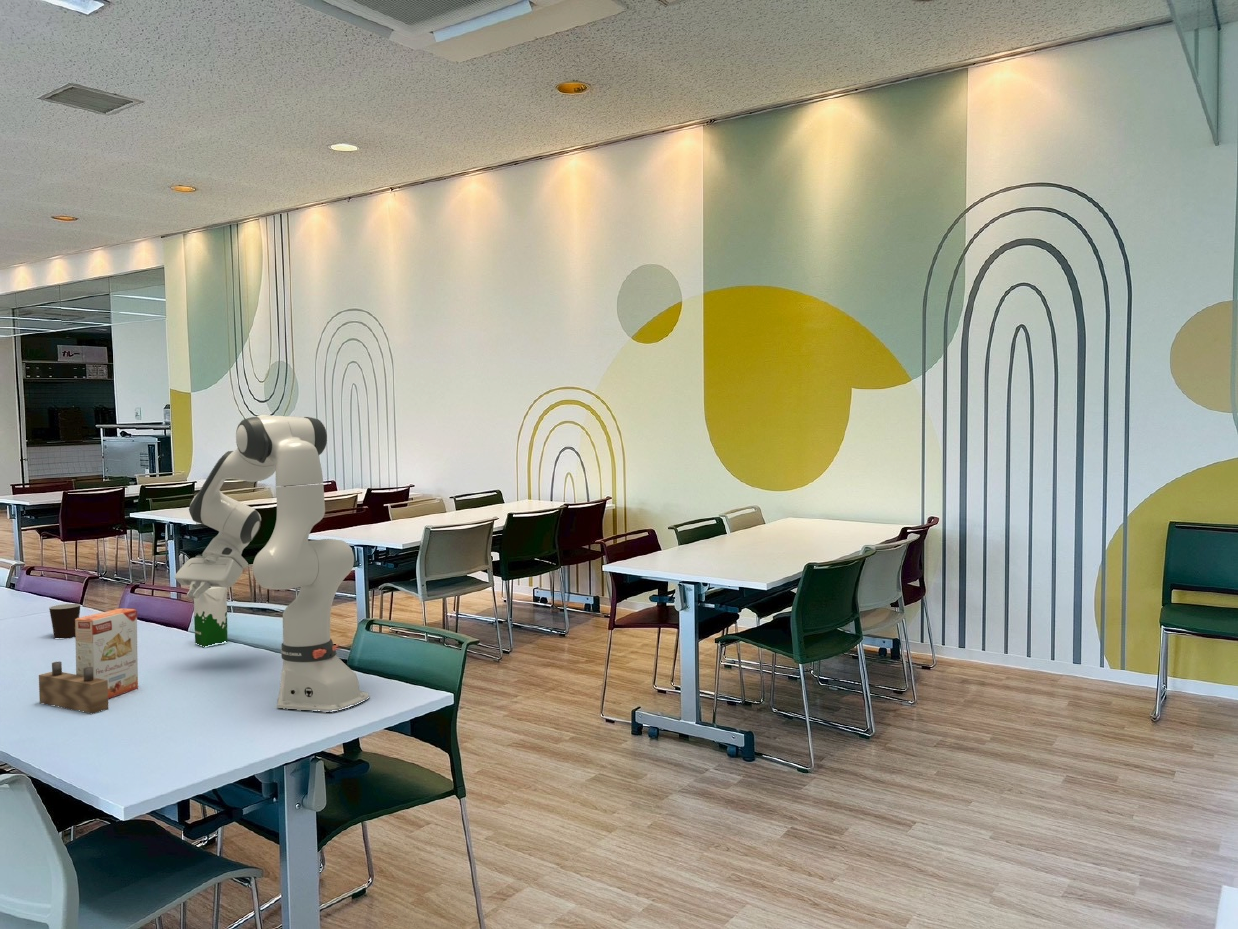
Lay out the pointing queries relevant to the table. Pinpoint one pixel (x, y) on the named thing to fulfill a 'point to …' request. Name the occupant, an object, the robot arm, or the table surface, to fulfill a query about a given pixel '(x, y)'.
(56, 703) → the walnut bar
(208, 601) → the milk carton
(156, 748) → the table surface
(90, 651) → the cracker box
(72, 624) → the coffee mug
